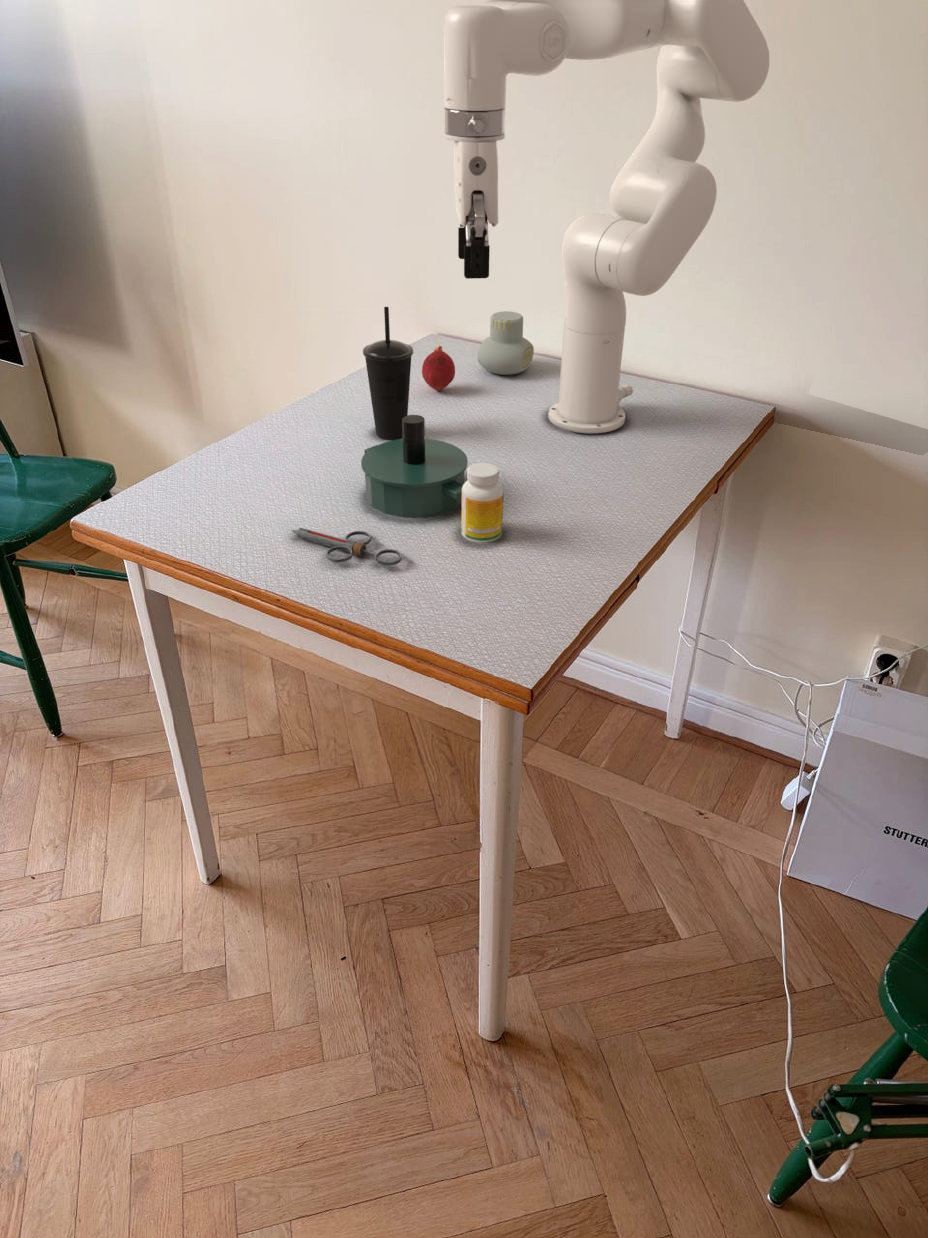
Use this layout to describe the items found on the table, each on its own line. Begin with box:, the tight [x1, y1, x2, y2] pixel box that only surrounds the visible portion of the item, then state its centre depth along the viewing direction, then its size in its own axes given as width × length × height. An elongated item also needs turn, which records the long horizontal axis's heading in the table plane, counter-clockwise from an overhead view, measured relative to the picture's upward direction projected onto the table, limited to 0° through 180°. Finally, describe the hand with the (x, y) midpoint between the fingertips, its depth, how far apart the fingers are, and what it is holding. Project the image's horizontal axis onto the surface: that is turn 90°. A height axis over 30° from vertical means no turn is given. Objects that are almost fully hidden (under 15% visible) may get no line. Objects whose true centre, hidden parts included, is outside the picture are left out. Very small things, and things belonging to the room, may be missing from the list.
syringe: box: [281, 526, 403, 567], centre depth 120 cm, size 8×18×2 cm, turn 63°
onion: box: [421, 345, 456, 392], centre depth 163 cm, size 6×6×8 cm
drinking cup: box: [362, 306, 414, 441], centre depth 145 cm, size 8×8×20 cm
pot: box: [364, 444, 465, 519], centre depth 131 cm, size 14×19×5 cm
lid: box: [360, 414, 469, 488], centre depth 128 cm, size 15×15×7 cm
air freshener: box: [477, 311, 535, 376], centre depth 171 cm, size 11×8×10 cm
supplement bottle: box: [460, 462, 505, 543], centre depth 121 cm, size 5×5×10 cm
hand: (473, 267), depth 126 cm, fingers open, 9 cm apart
